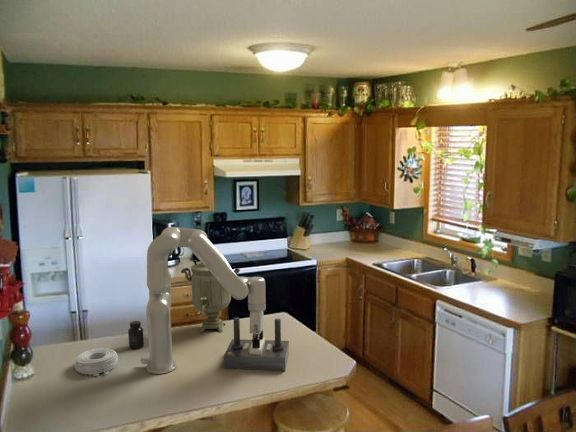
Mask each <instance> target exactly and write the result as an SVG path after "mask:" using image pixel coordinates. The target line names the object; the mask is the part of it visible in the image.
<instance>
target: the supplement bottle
mask: <svg viewBox="0 0 576 432" xmlns="http://www.w3.org/2000/svg"><path fill="white" fill-rule="evenodd" d="M127 335H128V347H129V349H130V350H140V349H142V348H144V346H145V337H144V328H143V327H142V323H141V321H140V320H133V321H131V322H129V328H128V330H127Z"/></svg>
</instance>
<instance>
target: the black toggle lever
mask: <svg viewBox="0 0 576 432" xmlns="http://www.w3.org/2000/svg"><path fill="white" fill-rule="evenodd" d="M281 321H282V320H281V318H274V340H275V344H274V345H273V346H272V349H273V350H275V351H281V350H283V345H282V344H281V341H282V337H281V336H282V331H281V330H282V328H281V327H282V326H281V325H282V322H281Z"/></svg>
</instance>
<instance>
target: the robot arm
mask: <svg viewBox="0 0 576 432" xmlns="http://www.w3.org/2000/svg"><path fill="white" fill-rule="evenodd" d="M179 247H180V248H188V249H189V250H190V251H191V252H192V253H193V254H194V256H196V258H197V260H199V261H200V263H201V262H202V263H203V264H204V265H205V266H206V267H207V268H208V269H209V271H210V272H211V273H212V275H213V276H214V277H215V278H216V279H217V280H218V282H219V283H220V284H221V285H222V286H223V288H224V289H225V290H226V291H227V292H228V293H229V294H230V295H231V298H233V299H235V300H239V301H240V300H244V299H245V298H247V306H248V311H249V334H252V336H251V338H252V339H251V340H252V348H260V339H263V338H264V330H263V329H264V311H266V306H267V304H266V303H267V302H266V279H265V278H264V277H262V276H252V277H247V276H239V275H237V274H235V273H234V269H232V267H231V266H229V264H230V263H228V262H229V261H228V260H227V258H226V257H225V255H224V254H223V253H222V252H221V251H220V250H219V249H218V247H216V245H214V244H213V242H212V241H211V240H210V239H209V237H208V235H207V233H206V232H205V231H204V230H201V229H200V228H199V229H198V228H197V229H196V228H189V227H188V228H187V227H177V226H168V227H166V228H164V229H163V230H162V232H161V234H160V235H158V236H157V237H155V238H154V239H152V241H151V242H150V244H149V245H148V248H147V250H146V287H147V288H148V296H149V298H148V302H147V304H146V314H145V315H146V323H147V332H148V333H147V335H148V353H149V355H148V357H140V359H139V361H140V363H141V364H142V365H144V364H146V366H145V367H146V368H145V369H146V372H148V373H150V374H155V375H162V374H167V373H171V372H173V371H174V370H175V369H176V368H177V362H176V361H175V360H173V340H172V339H173V338H172V320H171V306H172V278H171V277H172V276H171V272H170V270H169V254H170V253H171V252H173V251H175V250H176V249H177V248H179Z"/></svg>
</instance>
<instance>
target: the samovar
mask: <svg viewBox="0 0 576 432" xmlns="http://www.w3.org/2000/svg"><path fill="white" fill-rule="evenodd" d="M192 262H193V265H191V266H190V268H189V267H185V268H182V269H181V270H180V272H181V274H184V276H185V279H186V280H187V281H189V282H191V299H192V301H191V302H192V304H193V306H194V307H195V308H196V309H197V310H198V311H200V312H202V313H205V315H204V316H205V317H206V319H205V320H204V321H203V322H202V324H201V326H202V329H200V331H199V332H200V333H203V332H204V331H205V330H206V329H208V330H211V329H212V330H214V329H215V330H218V332H219V333H223V332H224V330H223V329H222V327H224V325H226V323H225V322H224V320H222V319H221V318H219V316H220V312H221V311H223V310H225V309H226V308H227V307H229V305H230V303H231V300H232V296H231V295H230V294H229V293H228V292H227V291H226V290H225V289H224V288H223V286H222V285H221V284H220V283H219V282H218V280H217V279H216V278H215V277H214V276H213V275H212V273H211V272H210V271H209V269H208V268H207V267H206V266H205V265H204V264H203V263H202V262H201V261H200V262H199V263H197V262H198V259H197V260H196V259H195V260H193V261H192ZM227 262H228V264H229V266H230V267H231V264H230V262H229V261H227ZM233 271H234V273H235V274H236V275H237V274H239V272H240V268H235V269H233Z"/></svg>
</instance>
